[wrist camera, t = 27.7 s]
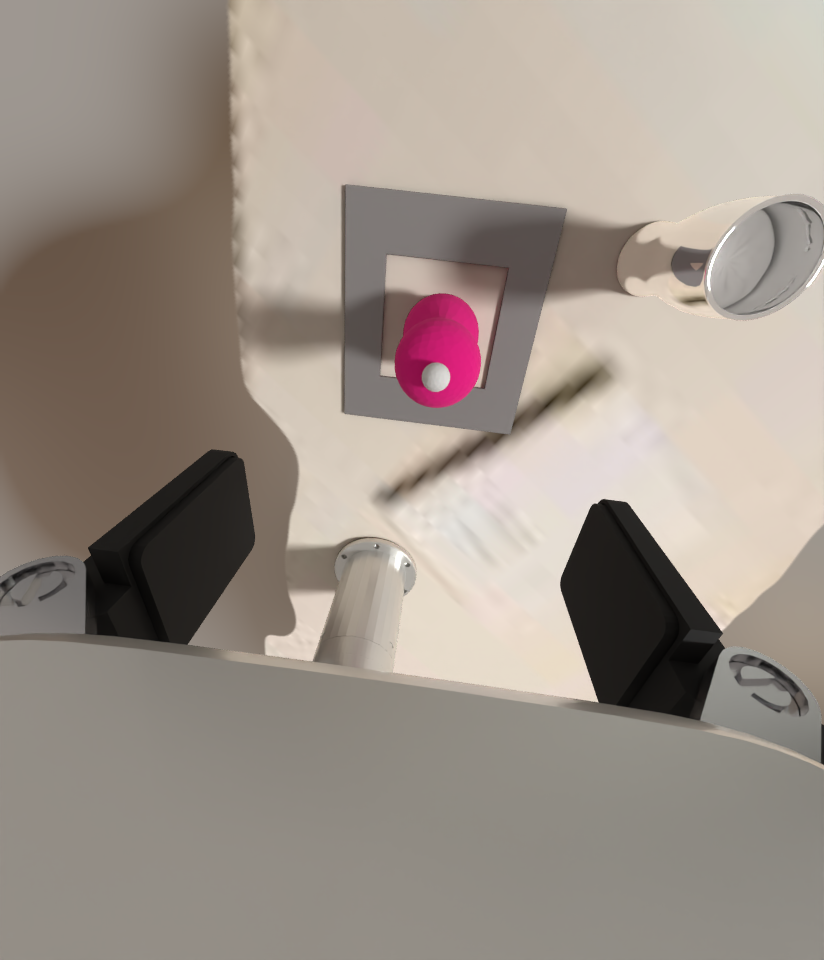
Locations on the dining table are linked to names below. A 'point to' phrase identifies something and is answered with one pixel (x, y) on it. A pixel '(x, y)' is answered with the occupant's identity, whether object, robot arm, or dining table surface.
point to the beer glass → (729, 257)
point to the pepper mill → (438, 351)
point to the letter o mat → (452, 237)
